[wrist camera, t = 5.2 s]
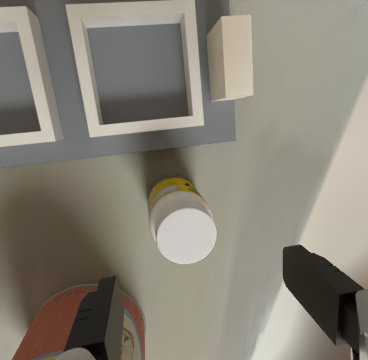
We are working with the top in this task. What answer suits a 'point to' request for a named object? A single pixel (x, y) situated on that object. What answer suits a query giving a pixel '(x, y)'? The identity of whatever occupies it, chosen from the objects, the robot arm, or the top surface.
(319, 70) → the top surface
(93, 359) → the robot arm
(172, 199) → the supplement bottle
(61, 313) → the canned food
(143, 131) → the holder board
